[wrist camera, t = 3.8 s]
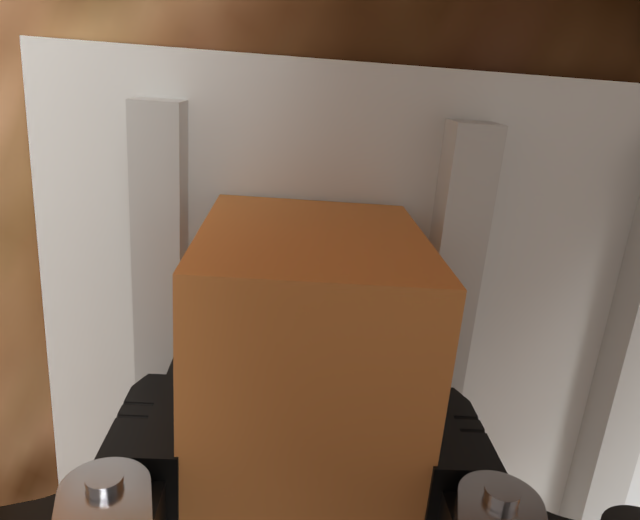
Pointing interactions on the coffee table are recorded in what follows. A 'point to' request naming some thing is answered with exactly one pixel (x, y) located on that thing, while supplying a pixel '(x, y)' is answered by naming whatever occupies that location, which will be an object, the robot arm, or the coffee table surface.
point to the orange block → (311, 361)
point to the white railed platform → (353, 187)
